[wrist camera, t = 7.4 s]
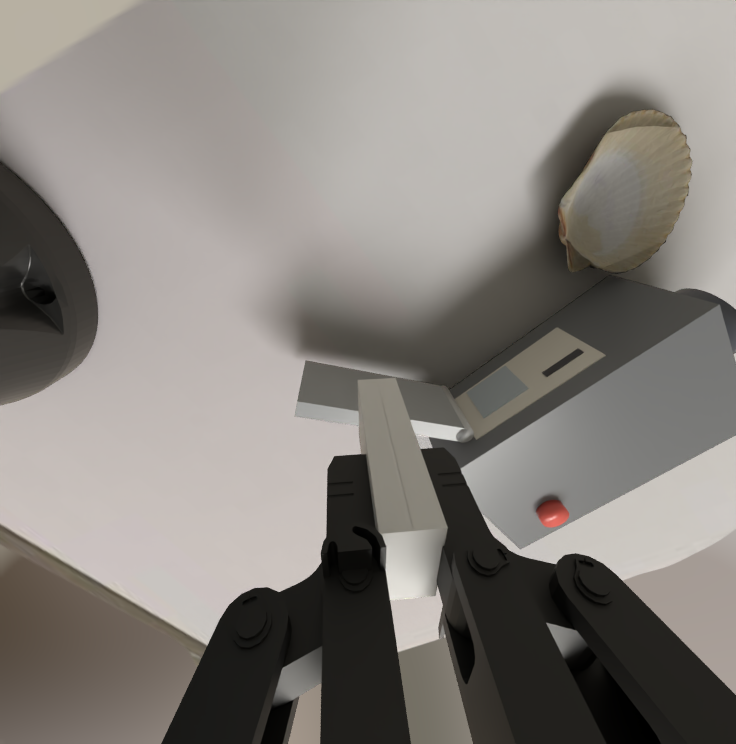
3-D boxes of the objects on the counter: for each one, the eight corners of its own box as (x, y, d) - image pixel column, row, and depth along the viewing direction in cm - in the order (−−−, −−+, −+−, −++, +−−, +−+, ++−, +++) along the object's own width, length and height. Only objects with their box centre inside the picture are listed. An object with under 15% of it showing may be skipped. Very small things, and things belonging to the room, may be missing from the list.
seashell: (638, 231, 22) (675, 84, 17) (686, 242, 20) (745, 77, 15) (535, 283, 22) (539, 150, 17) (571, 301, 20) (589, 154, 14)
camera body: (417, 410, 25) (446, 486, 19) (638, 251, 21) (783, 275, 14) (482, 476, 29) (525, 558, 23) (678, 356, 25) (805, 413, 18)
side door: (443, 404, 24) (467, 449, 20) (302, 379, 22) (293, 423, 18) (450, 386, 23) (477, 429, 19) (305, 359, 21) (297, 400, 17)
